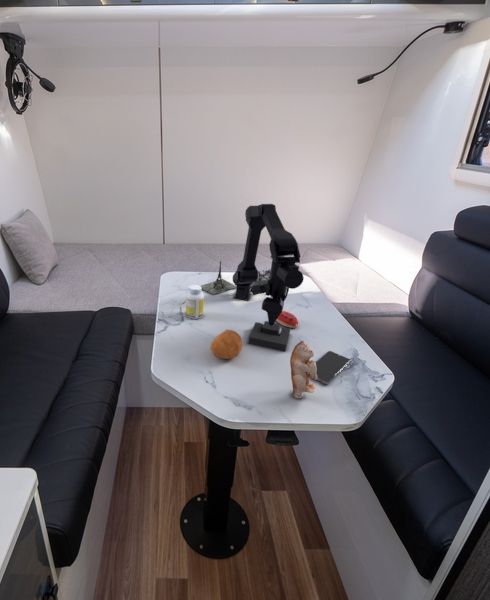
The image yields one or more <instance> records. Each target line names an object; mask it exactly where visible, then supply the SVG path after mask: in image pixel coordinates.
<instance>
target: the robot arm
mask: <svg viewBox="0 0 490 600" xmlns="http://www.w3.org/2000/svg"><path fill="white" fill-rule="evenodd" d="M276 209H277V207H276V204H273V203H261V204H258V205H249V206H248V207H247V208H246V209H245V213H244V214H245V215H244V216H245V222H246V224H247V226H248V229H247V234H246V235H247V236H246V240H245V241H246V242H245V246H244V253H243V258H242V260H241V262H240V263H239V264H238V265H237V268H236V271H235V272H233V273H234V274H233V275H232V282H233V285H235V286H237V287H236V288H235V293H234V294H233V296H232V297H233V299H236V300H243V301H250V299H251V297H252V296H257V295H261V294H265V296H267V297H266V298H264V299H263V300H262V303H261V310H263V311H264V312H265V313H267V321H268V322H269V325H270V326H273V324H274V323H276V322H277V321H276V320H277V318H278V317H279V315H280V314H281V313H282V311H284V306H285V301H286V300H287V297H288V296H289V292H290V289H292V290H293V289H297V288H299V287H300V286H301V285H302V284H303V282H304V275H303V272H302V271H301V270H300V266H299V265H298V264H300V263H301V252H300V248H299V243H298V241H297V239H296V237H295V235H293V233H291V232H290V231H288V230H286V229H285V227H284V225H283V223H282V220H281V219H280V216H279V214H278V212H277V210H276ZM265 228H266V230H267V233H268V235H269V237H270V242H269V244H268V247H269V251H270V258H271V265H270V266H271V267H270V269H271V272H270V277H269V279H268V280H261V281H257V278H258V271H259V270H258V268H257V266H256V260H257V255H258V250H259V246H260V245H259V244H260V240H261V236H262V235H261V234H262V231H263V230H264V229H265Z"/></svg>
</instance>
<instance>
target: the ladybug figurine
mask: <svg viewBox="0 0 490 600" xmlns="http://www.w3.org/2000/svg"><path fill="white" fill-rule="evenodd" d="M275 322H276V323H278V324H280V326H284V327H285V328H288V329H295V328H298V327H299V320H298V318H297V316H295V315H294V314H293V313H291V312H289V311H285V310H283V311H282V313H281V314H280V315H279V317H278V318H277V320H276V321H275Z"/></svg>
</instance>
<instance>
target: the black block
mask: <svg viewBox="0 0 490 600" xmlns="http://www.w3.org/2000/svg"><path fill="white" fill-rule="evenodd" d="M280 328H281V324H280V323H279V322H275V323H274V324H273V326H270V325H269V321H268V320H264V322H263V328H262V333H266V334H271V335H276V336H280V330H281V329H280Z"/></svg>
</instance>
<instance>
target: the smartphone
mask: <svg viewBox="0 0 490 600" xmlns="http://www.w3.org/2000/svg"><path fill="white" fill-rule="evenodd" d="M314 362H315V363H316V367H317V372H316V374H317V379H316V380H315V381H318V382H319V383H322V384H324V385H329V384H330V383H331V382H332V381H333V380H334V379H335V378H336V377H337V376H338V375H339V374H340V373H341V372H342V371H343V370H344V369H345V368H346V367H347V366H348V365H349V364H350V363H351V362H352V360H351V359H350V358H348V357H346V356H343V355H341V354H339V353H337V352H334V351H331V350H328V351H326V352H325V353H324V354H323V355H322V356H321V357H319V358H318V359H317V360H316V361H314Z"/></svg>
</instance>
